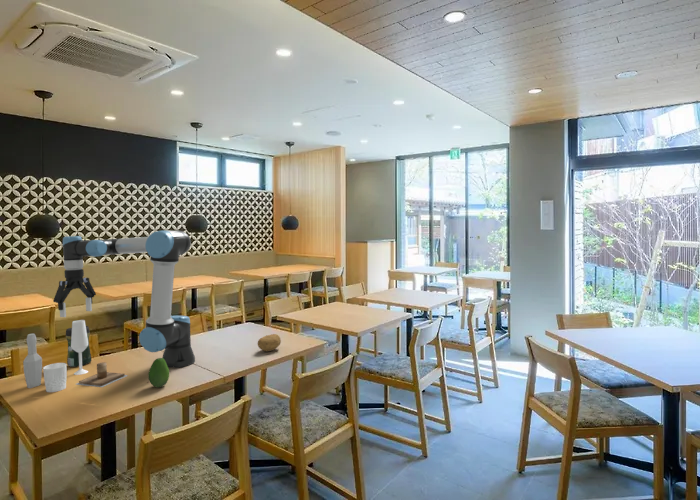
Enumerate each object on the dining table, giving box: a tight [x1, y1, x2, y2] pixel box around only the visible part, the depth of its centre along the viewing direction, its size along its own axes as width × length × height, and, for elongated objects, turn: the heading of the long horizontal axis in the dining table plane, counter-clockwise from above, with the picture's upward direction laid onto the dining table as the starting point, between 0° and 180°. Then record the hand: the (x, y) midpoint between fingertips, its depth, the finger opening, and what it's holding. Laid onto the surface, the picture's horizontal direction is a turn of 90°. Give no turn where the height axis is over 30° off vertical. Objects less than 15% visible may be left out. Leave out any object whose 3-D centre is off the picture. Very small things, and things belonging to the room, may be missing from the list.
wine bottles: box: [65, 325, 92, 368], centre depth 203 cm, size 10×8×19 cm
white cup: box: [42, 362, 68, 393], centre depth 172 cm, size 8×8×10 cm
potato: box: [257, 333, 282, 352], centre depth 223 cm, size 10×14×8 cm
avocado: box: [147, 357, 170, 388], centre depth 174 cm, size 8×8×12 cm
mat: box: [76, 374, 128, 388], centre depth 182 cm, size 14×14×1 cm
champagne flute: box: [71, 319, 89, 376], centre depth 190 cm, size 7×7×24 cm
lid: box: [78, 362, 126, 386], centre depth 182 cm, size 12×12×7 cm
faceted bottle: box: [22, 333, 43, 389], centre depth 176 cm, size 6×6×22 cm
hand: (76, 313), depth 199 cm, fingers open, 13 cm apart
